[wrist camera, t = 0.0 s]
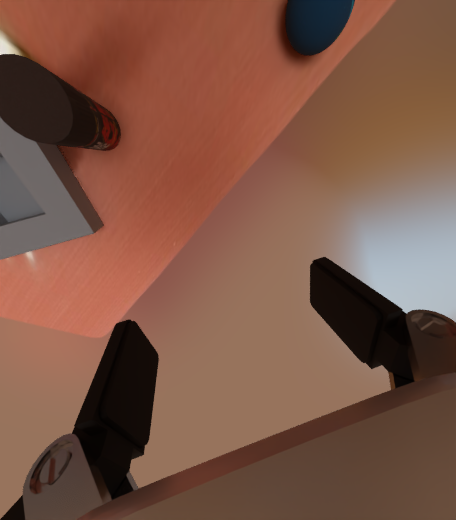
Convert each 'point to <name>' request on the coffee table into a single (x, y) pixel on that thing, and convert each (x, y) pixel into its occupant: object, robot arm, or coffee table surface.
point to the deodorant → (52, 108)
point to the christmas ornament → (316, 23)
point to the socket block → (39, 197)
